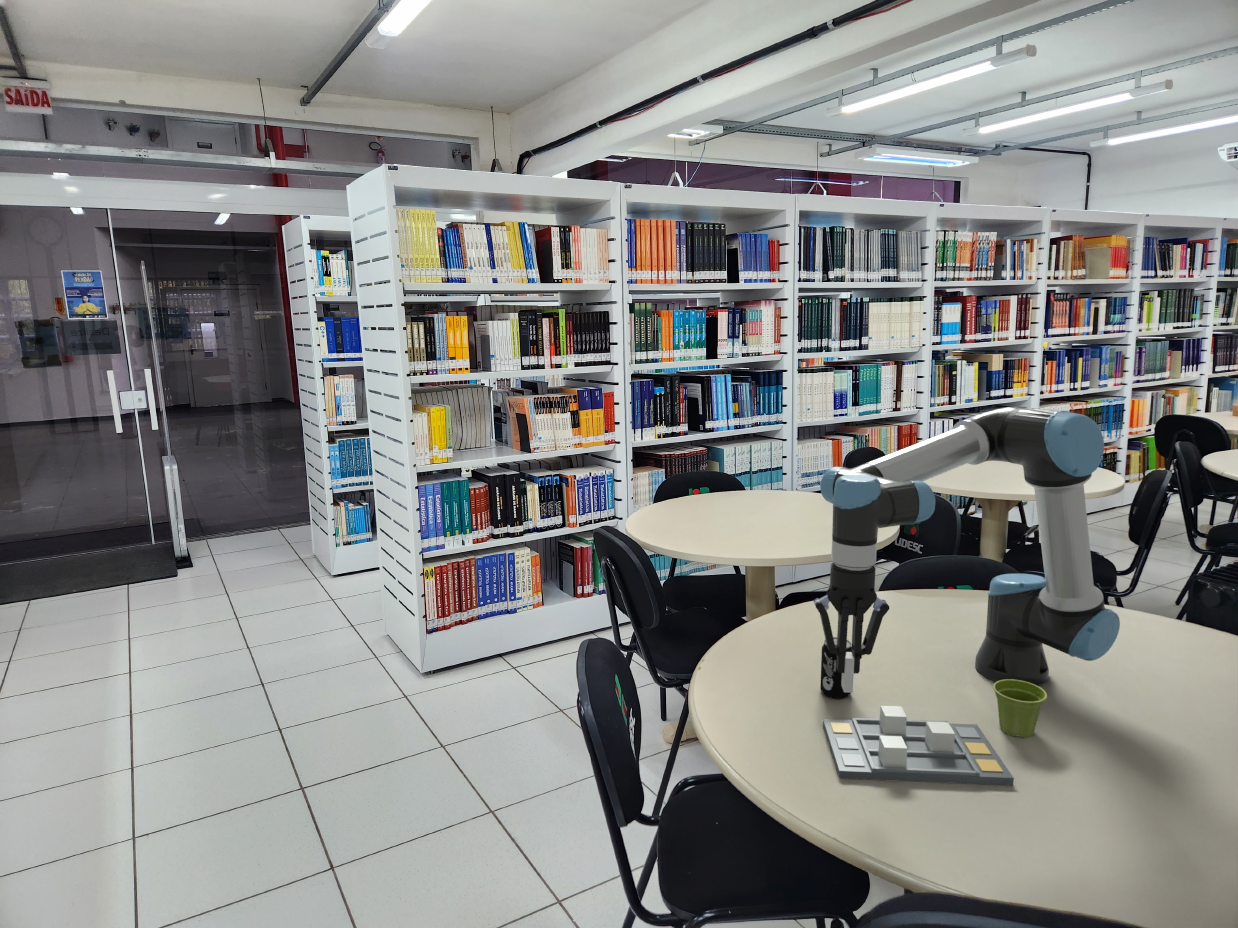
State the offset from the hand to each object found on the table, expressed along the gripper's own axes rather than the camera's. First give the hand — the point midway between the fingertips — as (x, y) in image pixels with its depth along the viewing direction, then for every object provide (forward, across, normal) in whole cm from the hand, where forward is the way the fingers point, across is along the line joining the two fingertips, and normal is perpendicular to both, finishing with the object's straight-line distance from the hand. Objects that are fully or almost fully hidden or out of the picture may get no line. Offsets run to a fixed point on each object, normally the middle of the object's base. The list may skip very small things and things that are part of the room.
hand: (846, 688), depth 138 cm
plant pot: (+16, -37, -16) cm, 43 cm away
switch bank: (+16, -14, -6) cm, 22 cm away
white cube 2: (+14, -19, -6) cm, 24 cm away
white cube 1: (+14, -11, -11) cm, 21 cm away
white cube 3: (+14, -9, 0) cm, 17 cm away
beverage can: (+16, -4, -29) cm, 33 cm away
